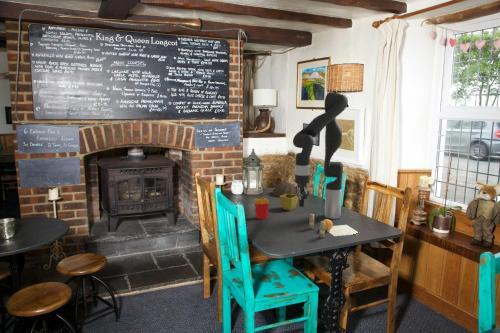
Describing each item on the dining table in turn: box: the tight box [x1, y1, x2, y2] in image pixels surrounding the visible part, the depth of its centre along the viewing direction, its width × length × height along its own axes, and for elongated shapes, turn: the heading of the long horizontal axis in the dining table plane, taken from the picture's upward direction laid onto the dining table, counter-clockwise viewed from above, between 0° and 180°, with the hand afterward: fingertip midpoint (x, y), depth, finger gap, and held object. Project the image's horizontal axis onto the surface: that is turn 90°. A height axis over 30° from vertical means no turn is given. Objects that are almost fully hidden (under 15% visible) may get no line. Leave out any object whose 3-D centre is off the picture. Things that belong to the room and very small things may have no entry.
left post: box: [308, 213, 315, 230], centre depth 214 cm, size 3×3×8 cm
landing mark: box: [325, 224, 358, 238], centre depth 211 cm, size 15×15×1 cm
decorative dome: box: [271, 181, 297, 198], centre depth 288 cm, size 19×20×10 cm
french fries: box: [254, 197, 270, 220], centre depth 232 cm, size 8×4×12 cm, turn 94°
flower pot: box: [279, 194, 299, 211], centre depth 250 cm, size 9×9×9 cm
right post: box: [319, 220, 326, 239], centre depth 201 cm, size 3×3×8 cm
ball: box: [322, 218, 334, 231], centre depth 211 cm, size 6×6×6 cm
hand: (301, 206), depth 203 cm, fingers closed
